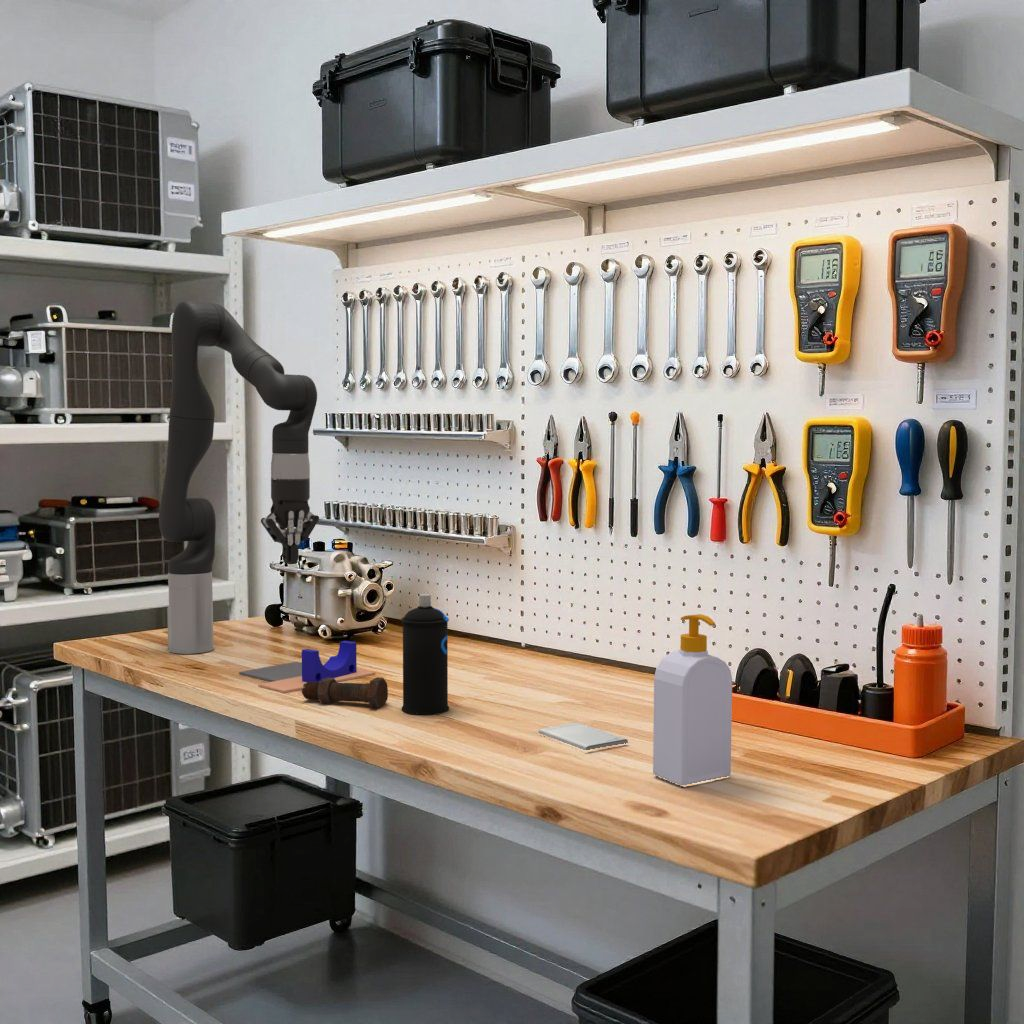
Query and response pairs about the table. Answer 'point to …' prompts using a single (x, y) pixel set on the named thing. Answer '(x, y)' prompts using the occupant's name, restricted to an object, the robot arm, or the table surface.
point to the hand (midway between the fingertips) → (290, 563)
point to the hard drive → (582, 736)
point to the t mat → (291, 676)
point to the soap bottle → (692, 711)
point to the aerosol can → (425, 659)
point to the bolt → (348, 692)
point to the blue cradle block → (329, 663)
